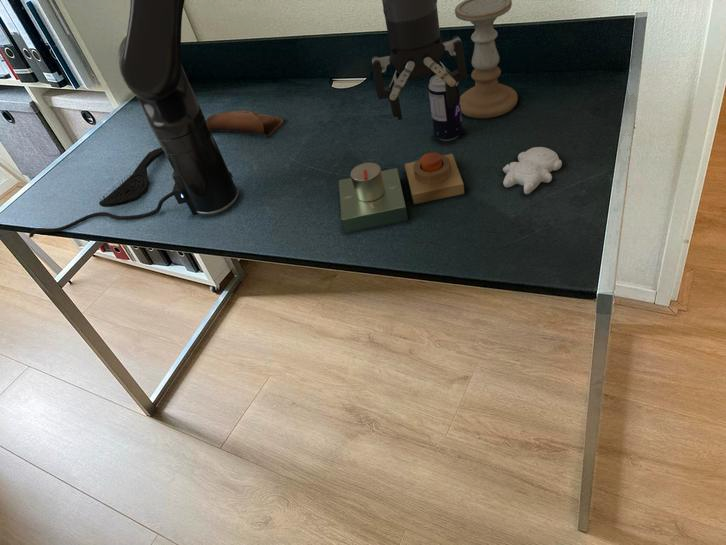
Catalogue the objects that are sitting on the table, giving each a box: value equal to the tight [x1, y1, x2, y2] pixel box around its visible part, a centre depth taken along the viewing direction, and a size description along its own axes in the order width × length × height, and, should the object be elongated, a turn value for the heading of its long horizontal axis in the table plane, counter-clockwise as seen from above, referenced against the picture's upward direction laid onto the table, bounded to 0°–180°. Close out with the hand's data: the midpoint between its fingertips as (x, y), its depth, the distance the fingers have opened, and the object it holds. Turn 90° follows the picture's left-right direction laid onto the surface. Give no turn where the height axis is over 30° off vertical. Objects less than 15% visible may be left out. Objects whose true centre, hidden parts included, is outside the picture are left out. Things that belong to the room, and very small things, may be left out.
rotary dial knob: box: [349, 162, 385, 202], centre depth 92 cm, size 5×5×5 cm
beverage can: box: [427, 74, 464, 142], centre depth 103 cm, size 6×6×12 cm
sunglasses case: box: [206, 110, 285, 137], centre depth 127 cm, size 18×7×7 cm
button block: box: [404, 153, 465, 205], centre depth 96 cm, size 9×10×4 cm
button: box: [420, 151, 442, 172], centre depth 94 cm, size 4×4×2 cm
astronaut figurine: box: [502, 146, 563, 195], centre depth 92 cm, size 9×12×3 cm
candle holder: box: [454, 0, 519, 119], centre depth 106 cm, size 12×12×20 cm
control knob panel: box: [338, 167, 409, 234], centre depth 95 cm, size 11×12×3 cm
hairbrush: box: [98, 146, 165, 208], centre depth 119 cm, size 8×4×25 cm
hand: (424, 111), depth 87 cm, fingers open, 8 cm apart
